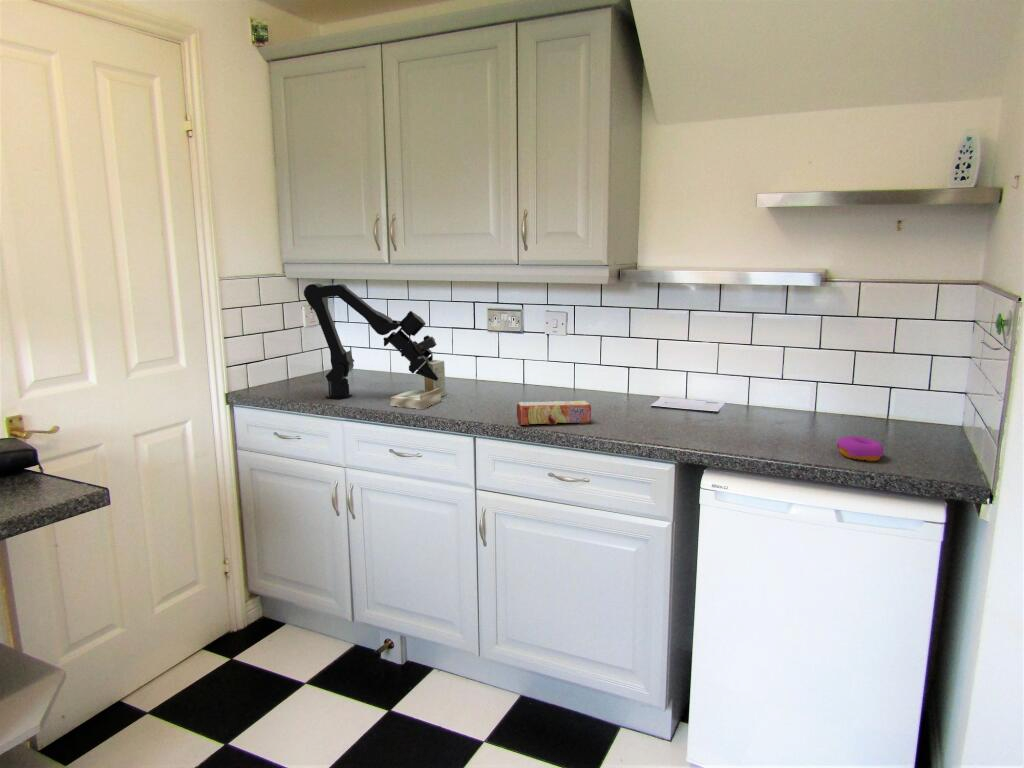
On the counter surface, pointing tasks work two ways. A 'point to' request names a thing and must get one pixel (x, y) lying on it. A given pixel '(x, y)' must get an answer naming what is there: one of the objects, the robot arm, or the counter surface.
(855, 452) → the donut
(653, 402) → the counter surface
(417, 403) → the stand
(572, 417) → the snack package
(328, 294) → the robot arm
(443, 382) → the skincare box
